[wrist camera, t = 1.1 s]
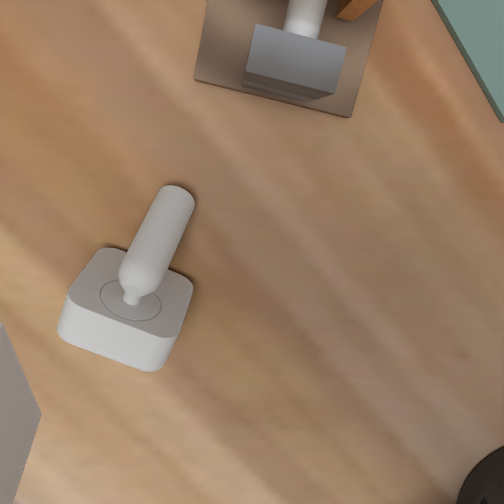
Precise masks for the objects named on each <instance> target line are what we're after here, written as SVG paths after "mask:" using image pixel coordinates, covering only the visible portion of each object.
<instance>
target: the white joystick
mask: <svg viewBox="0 0 504 504" xmlns="http://www.w3.org/2000/svg"><path fill="white" fill-rule="evenodd" d="M194 207H195V201H194V199H193V197H192V196H191V195H190V194H189V193H188V192H187V191H186V190H184V189H183V188H180V187H178V186H173V185H168V186H164V187H162V188H161V189H160V190H159V192H158V194H157V196H156V197H155V199H154V201H153V203H152V205H151V207H150V209H149V211H148V213H147V215H146V217H145V219H144V220H143V222H142V224H141V226H140V228H139V230H138V232H137V234H136V236H135V238H134V240H133V241H132V243H131V245H130V247H129V249H128V251H127V253H126V252H124V251H122V250H119V249H115V248H102V249H100V250H98V251H97V253H96V254H95V255H94V256H93V258H92V259H91V260H90V261H89V263H88V264H87V265H86V267H85V268H84V269H83V271H82V272H81V273H80V275H79V276H78V277H77V278H76V280H75V281H74V282H73V284H72V285H71V286H70V288H69V290H68V293H67V296H66V299H65V303H64V306H63V309H62V312H61V316H60V319H59V322H58V325H57V332H58V334H59V336H60V337H61V338H62V339H63V340H64V341H66V342H67V343H70V344H72V345H75V346H78V347H80V348H83V349H86V350H88V351H91V352H94V353H96V354H99V355H102V356H104V357H107V358H110V359H112V360H115V361H117V362H120V363H123V364H126V365H128V366H131V367H134V368H137V369H139V370H142V371H147V372H153V371H157V370H159V369H161V368H162V367H163V366H164V364H165V362H166V360H167V358H168V356H169V354H170V352H171V349H172V347H173V345H174V343H175V341H176V339H177V337H178V335H179V333H180V330H181V327H182V324H183V321H184V318H185V315H186V312H187V309H188V306H189V302H190V299H191V296H192V293H193V285H192V283H191V282H190V281H189V280H188V279H187V278H186V277H184V276H182V275H180V274H178V273H175V272H173V271H170V270H168V267H169V265H170V262H171V260H172V258H173V255H174V253H175V251H176V249H177V246H178V244H179V242H180V239H181V237H182V235H183V233H184V230H185V228H186V226H187V223H188V221H189V219H190V216H191V214H192V212H193V210H194Z"/></svg>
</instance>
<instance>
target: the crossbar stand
mask: <svg viewBox="0 0 504 504" xmlns="http://www.w3.org/2000/svg"><path fill="white" fill-rule="evenodd" d="M382 3H383V0H377V1H376V2H375V3H374V4H373V5H372V6H370V7H369V8H368V9H367V10H366V11H365V12H363V13H362V14H361V15H360V16H359V17H358V18H356V19H355V20H354V21H349V20H345V19H342V18H338V17H336V16H337V12H338V8H339V4H340V0H208V5H207V11H206V16H205V21H204V27H203V32H202V37H201V43H200V48H199V53H198V58H197V64H196V69H195V74H194V80H195V81H199V82H203V83H207V84H211V85H215V86H219V87H223V88H227V89H231V90H235V91H239V92H243V93H247V94H251V95H255V96H259V97H264V98H268V99H272V100H276V101H280V102H284V103H288V104H292V105H296V106H300V107H304V108H308V109H312V110H316V111H320V112H324V113H328V114H332V115H336V116H340V117H344V118H351V115H352V112H353V108H354V105H355V101H356V97H357V94H358V90H359V86H360V83H361V79H362V75H363V72H364V68H365V64H366V61H367V57H368V54H369V50H370V46H371V43H372V39H373V35H374V32H375V28H376V24H377V21H378V17H379V14H380V10H381V6H382Z"/></svg>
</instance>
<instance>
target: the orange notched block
mask: <svg viewBox="0 0 504 504" xmlns="http://www.w3.org/2000/svg"><path fill="white" fill-rule="evenodd" d="M376 1H377V0H340V4H339V8H338V12H337V16H336V17H338V18H342V19H345V20H349V21H354V20H355V19H356V18H358V17H359V16H360V15H361V14H362V13H363V12H365V11H366V10H367V9H368V8H369V7H370V6H372V5H373V4H374V3H375V2H376Z"/></svg>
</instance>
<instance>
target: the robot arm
mask: <svg viewBox="0 0 504 504" xmlns="http://www.w3.org/2000/svg"><path fill="white" fill-rule="evenodd" d="M41 415H42V414H41V411H40V409H39V407H38V404H37V402H36V400H35V397H34V395H33V393H32V390H31V388H30V386H29V383H28V381H27V379H26V376H25V374H24V372H23V369H22V367H21V365H20V362H19V360H18V358H17V355H16V353H15V351H14V348H13V346H12V344H11V341H10V339H9V337H8V334H7V332H6V330H5V327H4V325H3V323H0V504H13V500H14V497H15V494H16V491H17V488H18V485H19V482H20V479H21V476H22V473H23V470H24V467H25V464H26V461H27V458H28V455H29V452H30V449H31V446H32V442H33V439H34V436H35V433H36V430H37V427H38V424H39V421H40V418H41ZM458 504H504V447H503V448H501V449H500V450H498V451H496V452H495V453H493V454H491V455H490V456H489V457H487V458H486V459H485V460H484V461H482V462H481V463H480V464H479V465H478V466H477V467H476V468H475V469H474V471H473V472H472V473H471V474H470V476H469V477H468V479H467V480H466V482H465V484H464V486H463V488H462V490H461V492H460V496H459V499H458Z"/></svg>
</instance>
